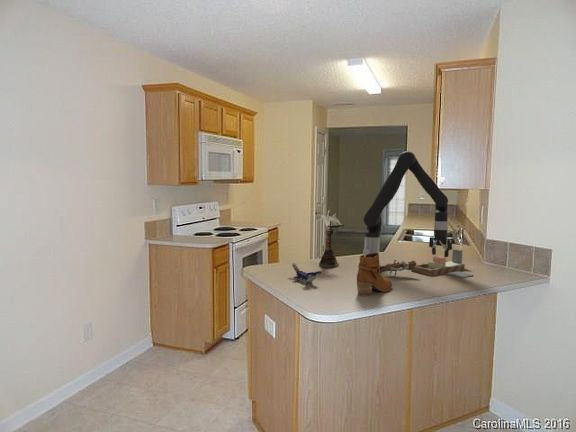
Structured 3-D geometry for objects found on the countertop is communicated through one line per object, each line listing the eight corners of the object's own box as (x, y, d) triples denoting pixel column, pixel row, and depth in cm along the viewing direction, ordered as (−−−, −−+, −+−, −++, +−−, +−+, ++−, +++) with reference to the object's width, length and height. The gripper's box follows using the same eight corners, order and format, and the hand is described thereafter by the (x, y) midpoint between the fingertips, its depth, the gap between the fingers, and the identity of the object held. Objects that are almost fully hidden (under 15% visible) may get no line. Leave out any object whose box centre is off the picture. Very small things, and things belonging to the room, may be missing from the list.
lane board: (430, 275, 224) (430, 270, 224) (411, 270, 236) (411, 265, 236) (464, 269, 240) (464, 264, 239) (444, 265, 251) (444, 260, 251)
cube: (439, 266, 235) (440, 258, 234) (432, 265, 239) (433, 256, 238) (445, 265, 237) (445, 257, 237) (438, 264, 241) (438, 256, 241)
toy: (304, 292, 202) (306, 273, 199) (284, 272, 221) (286, 255, 218) (321, 289, 207) (324, 271, 204) (300, 270, 226) (302, 253, 223)
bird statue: (347, 268, 242) (349, 210, 238) (328, 270, 237) (329, 210, 234) (335, 262, 257) (336, 208, 254) (316, 264, 252) (317, 208, 249)
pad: (462, 278, 220) (462, 277, 219) (446, 274, 228) (446, 273, 228) (473, 275, 225) (473, 274, 225) (457, 272, 233) (457, 271, 233)
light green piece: (441, 270, 232) (441, 254, 231) (428, 267, 240) (428, 251, 239) (464, 266, 244) (465, 250, 243) (452, 263, 251) (452, 248, 250)
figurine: (363, 261, 226) (413, 252, 225) (365, 275, 230) (414, 267, 228) (367, 270, 217) (418, 261, 215) (369, 285, 221) (420, 277, 219)
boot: (384, 285, 205) (385, 248, 203) (399, 289, 197) (400, 251, 195) (349, 292, 191) (350, 253, 189) (363, 297, 183) (364, 256, 181)
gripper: (426, 227, 240) (425, 254, 241) (446, 230, 228) (446, 258, 229) (435, 227, 244) (434, 253, 245) (455, 229, 232) (454, 257, 233)
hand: (440, 255), depth 237 cm, fingers open, 8 cm apart
